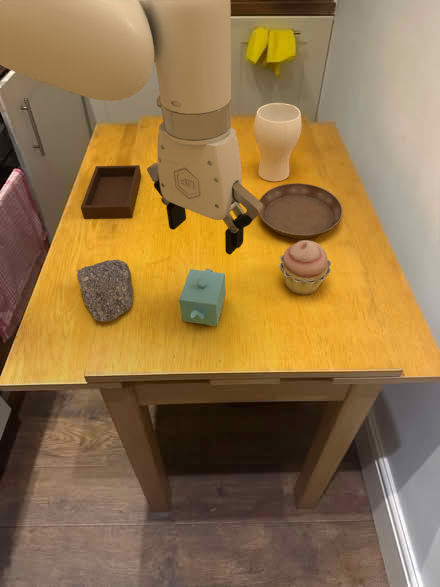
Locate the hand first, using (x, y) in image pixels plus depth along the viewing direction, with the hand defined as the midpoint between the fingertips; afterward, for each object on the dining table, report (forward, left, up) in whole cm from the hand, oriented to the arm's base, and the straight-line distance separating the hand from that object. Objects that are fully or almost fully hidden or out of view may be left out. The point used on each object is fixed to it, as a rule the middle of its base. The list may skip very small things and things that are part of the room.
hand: (205, 235), depth 58 cm
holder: (-39, +17, -18) cm, 46 cm away
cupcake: (+10, +15, -18) cm, 26 cm away
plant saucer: (+1, +32, -18) cm, 37 cm away
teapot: (-1, -1, -18) cm, 18 cm away
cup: (-12, +45, -18) cm, 50 cm away
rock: (-17, -6, -18) cm, 26 cm away
